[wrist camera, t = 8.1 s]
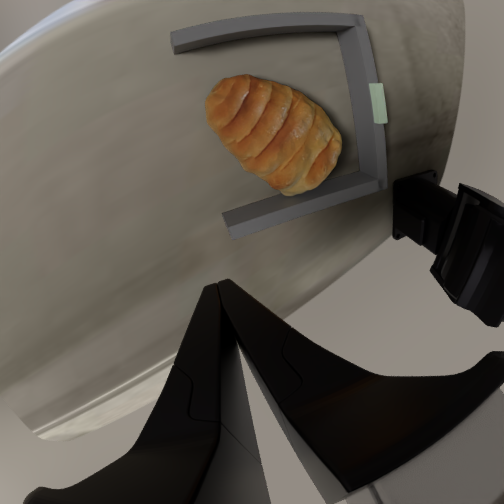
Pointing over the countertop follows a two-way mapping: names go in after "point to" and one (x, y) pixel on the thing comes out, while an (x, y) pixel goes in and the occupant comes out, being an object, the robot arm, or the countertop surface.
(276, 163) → the pastry
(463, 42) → the countertop surface
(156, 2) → the countertop surface
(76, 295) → the countertop surface
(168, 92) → the countertop surface
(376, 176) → the dock
